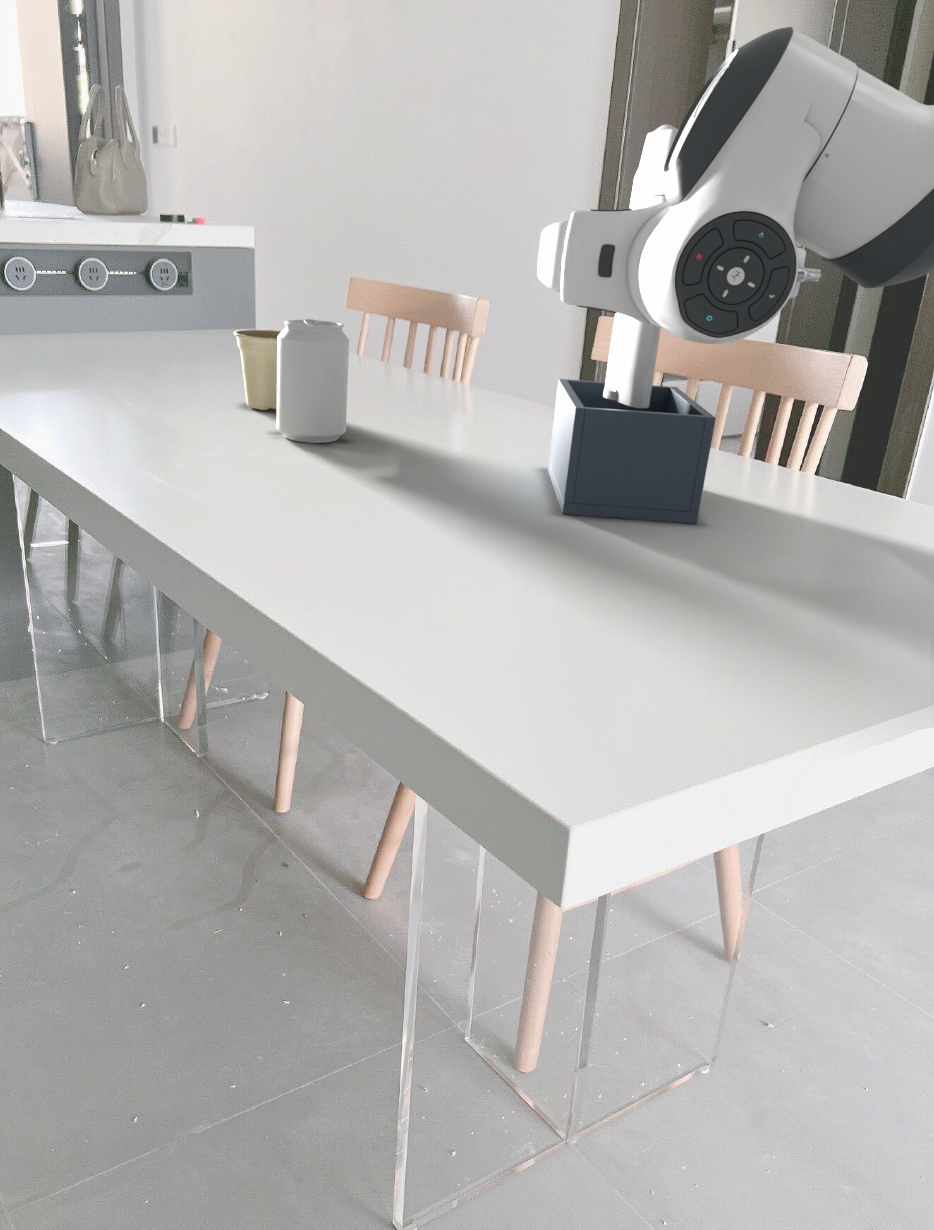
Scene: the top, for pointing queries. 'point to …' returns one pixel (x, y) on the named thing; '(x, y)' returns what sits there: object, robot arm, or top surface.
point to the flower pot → (259, 366)
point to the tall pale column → (630, 336)
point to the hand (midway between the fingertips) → (653, 260)
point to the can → (312, 380)
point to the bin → (629, 454)
